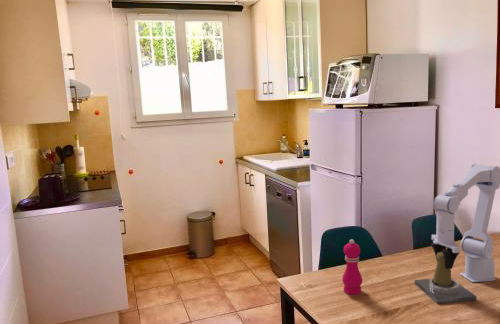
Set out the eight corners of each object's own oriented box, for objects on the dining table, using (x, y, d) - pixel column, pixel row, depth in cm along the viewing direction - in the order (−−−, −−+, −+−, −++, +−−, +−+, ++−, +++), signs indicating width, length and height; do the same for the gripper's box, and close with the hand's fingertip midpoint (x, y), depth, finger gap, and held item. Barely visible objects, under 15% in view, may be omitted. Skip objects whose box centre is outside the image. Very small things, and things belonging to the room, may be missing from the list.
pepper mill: (363, 287, 151) (362, 236, 148) (361, 296, 144) (361, 243, 142) (343, 285, 153) (342, 235, 151) (341, 294, 147) (340, 241, 144)
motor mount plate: (449, 280, 153) (449, 272, 153) (476, 300, 138) (476, 290, 137) (414, 283, 152) (414, 274, 152) (437, 303, 137) (437, 294, 136)
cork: (453, 286, 141) (456, 256, 140) (435, 284, 142) (438, 255, 141) (448, 278, 147) (450, 250, 146) (430, 277, 148) (433, 249, 146)
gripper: (423, 223, 149) (423, 258, 151) (445, 235, 134) (445, 274, 136) (442, 222, 149) (441, 257, 151) (465, 234, 135) (464, 272, 137)
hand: (444, 265), depth 144 cm, fingers closed on cork, 5 cm apart
